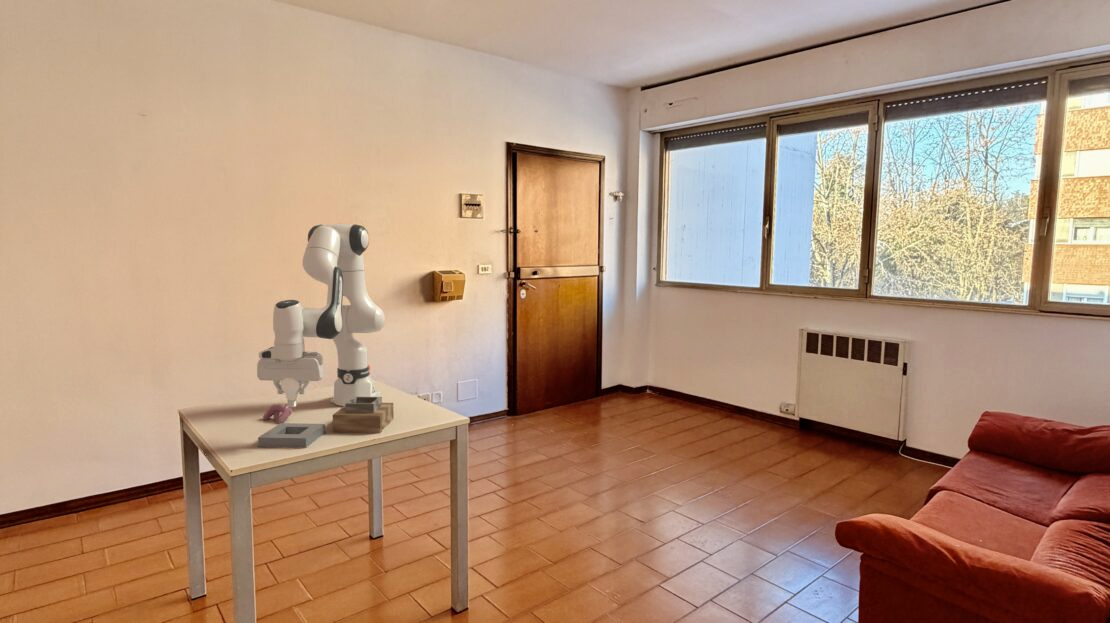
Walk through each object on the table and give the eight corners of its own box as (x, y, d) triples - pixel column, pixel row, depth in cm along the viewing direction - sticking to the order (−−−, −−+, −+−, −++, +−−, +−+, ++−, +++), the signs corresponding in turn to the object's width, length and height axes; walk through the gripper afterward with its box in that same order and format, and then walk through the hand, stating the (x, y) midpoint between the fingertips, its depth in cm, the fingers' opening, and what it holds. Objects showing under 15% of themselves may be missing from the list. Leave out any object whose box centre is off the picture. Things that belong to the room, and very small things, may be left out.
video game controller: (289, 426, 213) (296, 406, 215) (278, 423, 209) (285, 403, 211) (271, 421, 218) (278, 403, 220) (260, 419, 214) (268, 400, 216)
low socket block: (280, 431, 201) (280, 423, 201) (325, 432, 201) (324, 423, 201) (258, 446, 187) (257, 437, 186) (306, 447, 186) (306, 438, 186)
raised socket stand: (349, 418, 218) (349, 394, 217) (393, 418, 218) (393, 394, 217) (333, 432, 202) (332, 406, 201) (380, 432, 202) (379, 406, 201)
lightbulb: (276, 409, 191) (275, 375, 190) (291, 404, 197) (290, 371, 196) (293, 411, 189) (292, 377, 188) (307, 406, 195) (306, 373, 194)
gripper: (326, 349, 194) (327, 391, 196) (263, 349, 194) (265, 390, 196) (318, 353, 188) (320, 396, 189) (253, 353, 188) (255, 396, 190)
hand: (291, 393), depth 193 cm, fingers closed on lightbulb, 6 cm apart
